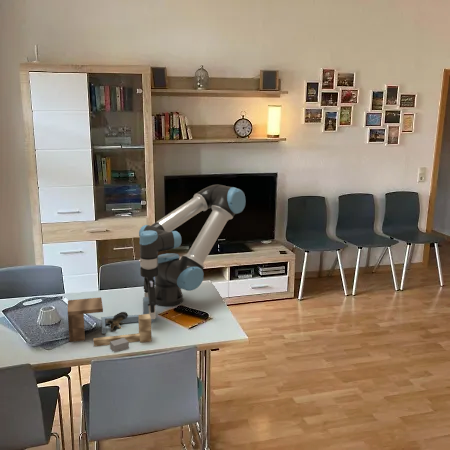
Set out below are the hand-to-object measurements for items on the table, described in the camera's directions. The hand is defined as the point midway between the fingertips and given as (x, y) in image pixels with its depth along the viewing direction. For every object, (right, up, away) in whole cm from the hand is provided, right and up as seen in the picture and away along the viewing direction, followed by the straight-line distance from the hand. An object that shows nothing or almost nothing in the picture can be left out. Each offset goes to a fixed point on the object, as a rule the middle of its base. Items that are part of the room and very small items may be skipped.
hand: (149, 312), depth 218 cm
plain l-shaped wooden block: (-8, -8, -19) cm, 22 cm away
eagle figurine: (-13, -6, -7) cm, 16 cm away
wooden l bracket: (-24, -7, -13) cm, 28 cm away
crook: (-8, -5, -5) cm, 11 cm away
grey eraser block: (-8, -10, -24) cm, 27 cm away
